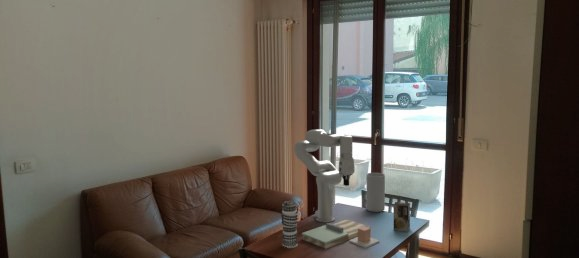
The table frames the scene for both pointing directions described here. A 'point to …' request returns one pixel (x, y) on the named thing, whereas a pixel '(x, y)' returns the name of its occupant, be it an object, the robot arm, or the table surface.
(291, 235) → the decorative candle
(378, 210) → the cylinder vase
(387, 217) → the table surface
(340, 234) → the sliding lid
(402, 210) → the coffee box
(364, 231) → the terracotta block
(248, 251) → the table surface
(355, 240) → the grey mat
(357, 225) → the well frame
